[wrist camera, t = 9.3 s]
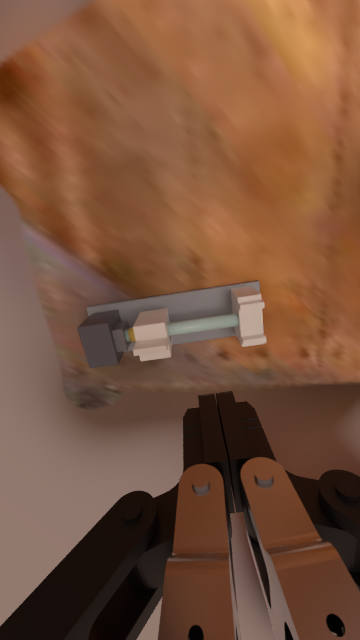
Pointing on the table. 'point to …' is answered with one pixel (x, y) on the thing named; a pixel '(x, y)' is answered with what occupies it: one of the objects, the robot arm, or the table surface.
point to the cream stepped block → (152, 335)
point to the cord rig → (176, 320)
